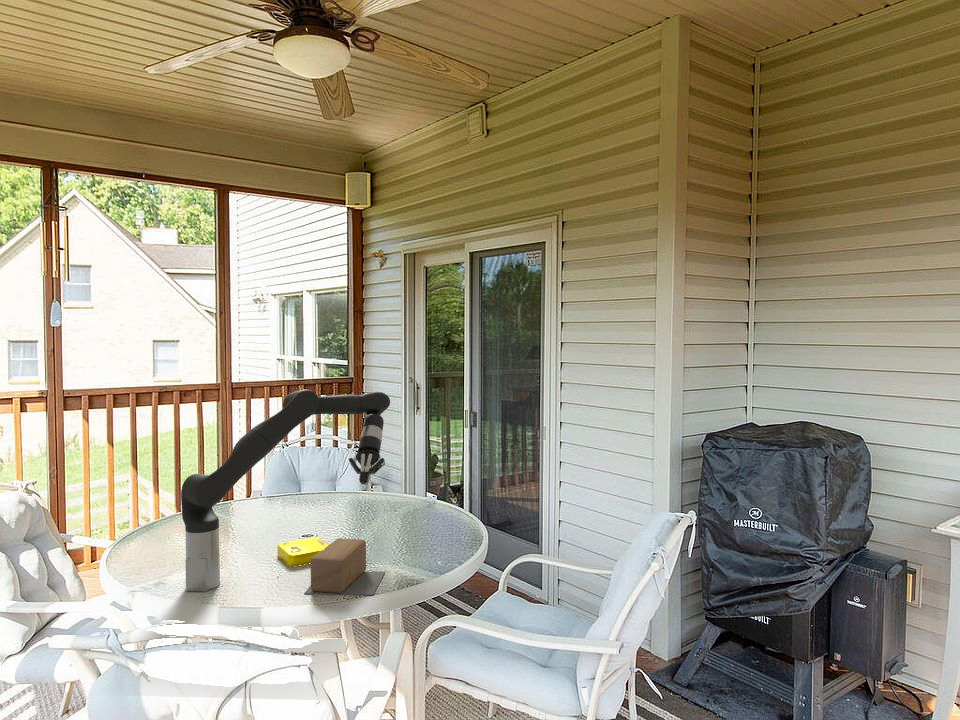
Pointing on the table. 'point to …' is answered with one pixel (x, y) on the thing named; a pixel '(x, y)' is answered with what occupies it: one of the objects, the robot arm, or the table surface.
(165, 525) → the table surface
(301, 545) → the yellow labelled tile
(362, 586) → the mat
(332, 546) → the wooden block
